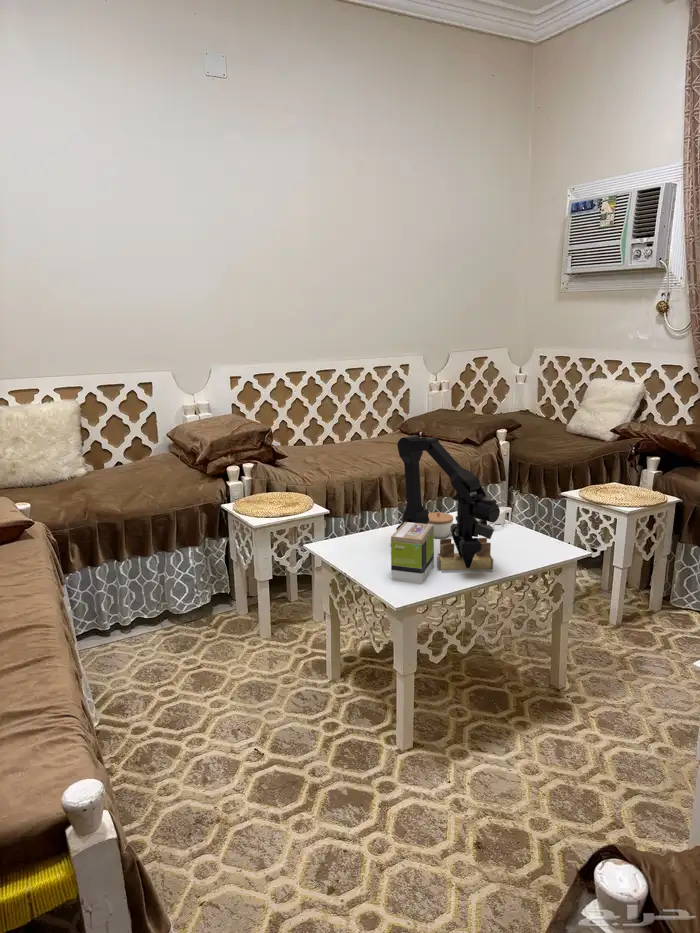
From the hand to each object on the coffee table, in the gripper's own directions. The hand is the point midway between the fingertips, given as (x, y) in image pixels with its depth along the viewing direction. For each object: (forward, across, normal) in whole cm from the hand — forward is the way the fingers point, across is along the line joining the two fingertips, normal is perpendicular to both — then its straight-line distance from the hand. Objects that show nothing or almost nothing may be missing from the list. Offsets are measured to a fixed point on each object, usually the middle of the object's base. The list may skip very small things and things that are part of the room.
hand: (464, 562), depth 207 cm
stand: (+2, +9, -2) cm, 9 cm away
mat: (+2, 0, 0) cm, 2 cm away
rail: (+2, 0, 0) cm, 2 cm away
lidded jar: (+2, +31, +3) cm, 31 cm away
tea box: (+2, -3, +17) cm, 17 cm away
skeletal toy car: (+3, +38, -17) cm, 42 cm away
